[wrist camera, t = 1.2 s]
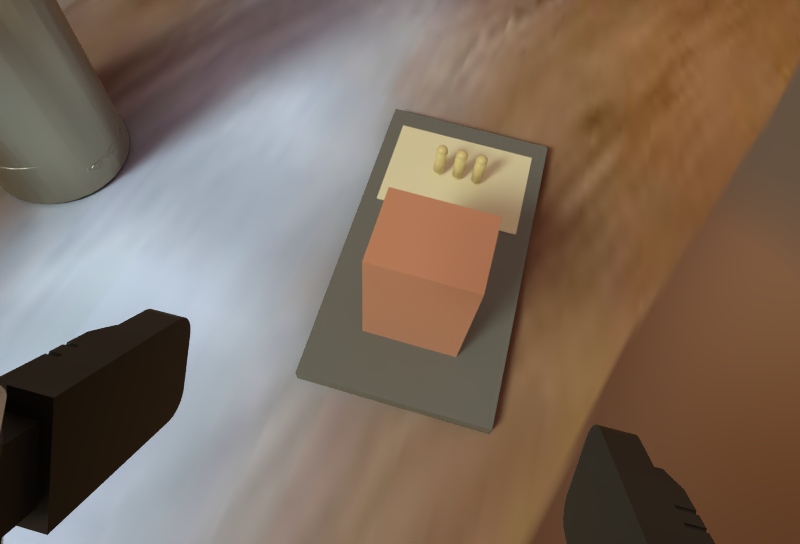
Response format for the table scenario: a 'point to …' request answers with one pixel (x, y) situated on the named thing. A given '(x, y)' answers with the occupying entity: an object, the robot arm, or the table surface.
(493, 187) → the pin board
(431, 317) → the block
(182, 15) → the table surface
